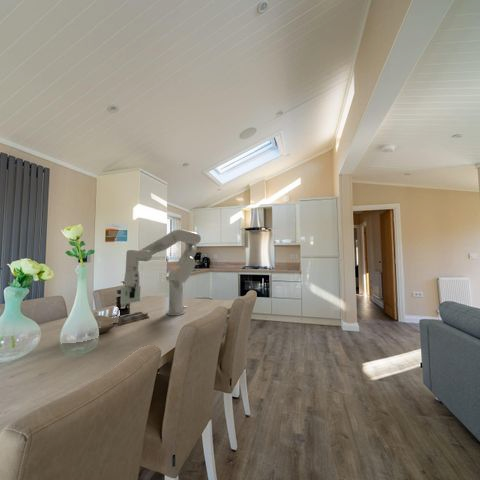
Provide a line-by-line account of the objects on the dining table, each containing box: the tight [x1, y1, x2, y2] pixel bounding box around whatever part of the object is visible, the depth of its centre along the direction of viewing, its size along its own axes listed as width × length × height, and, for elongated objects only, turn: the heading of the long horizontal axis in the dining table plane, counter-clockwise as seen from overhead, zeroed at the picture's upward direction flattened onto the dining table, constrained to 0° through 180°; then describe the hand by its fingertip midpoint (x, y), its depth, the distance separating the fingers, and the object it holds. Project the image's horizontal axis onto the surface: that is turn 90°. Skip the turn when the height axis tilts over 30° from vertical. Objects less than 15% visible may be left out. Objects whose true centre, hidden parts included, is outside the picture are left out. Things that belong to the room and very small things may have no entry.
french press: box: [115, 281, 131, 316], centre depth 170 cm, size 12×9×23 cm
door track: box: [115, 310, 150, 326], centre depth 157 cm, size 20×11×3 cm, turn 148°
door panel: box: [120, 285, 141, 304], centre depth 157 cm, size 12×3×10 cm, turn 148°
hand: (130, 297), depth 157 cm, fingers closed on door panel, 2 cm apart
